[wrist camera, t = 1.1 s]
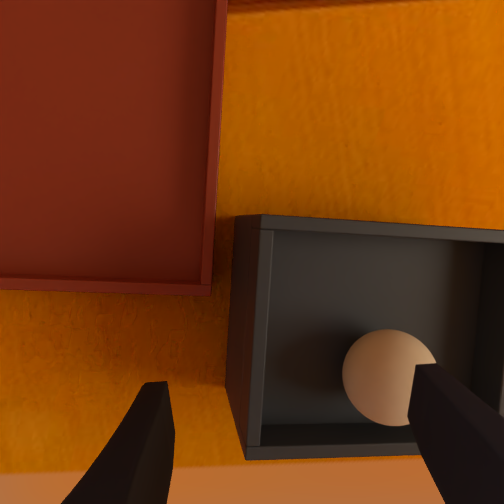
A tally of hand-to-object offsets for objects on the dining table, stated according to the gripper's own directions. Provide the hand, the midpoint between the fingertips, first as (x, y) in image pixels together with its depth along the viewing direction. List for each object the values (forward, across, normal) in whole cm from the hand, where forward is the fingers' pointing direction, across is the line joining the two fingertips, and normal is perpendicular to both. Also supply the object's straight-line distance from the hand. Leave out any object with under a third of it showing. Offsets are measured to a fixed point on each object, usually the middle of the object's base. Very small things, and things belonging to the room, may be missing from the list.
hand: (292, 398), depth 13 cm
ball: (+5, -5, +4) cm, 8 cm away
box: (+13, -4, +5) cm, 14 cm away
